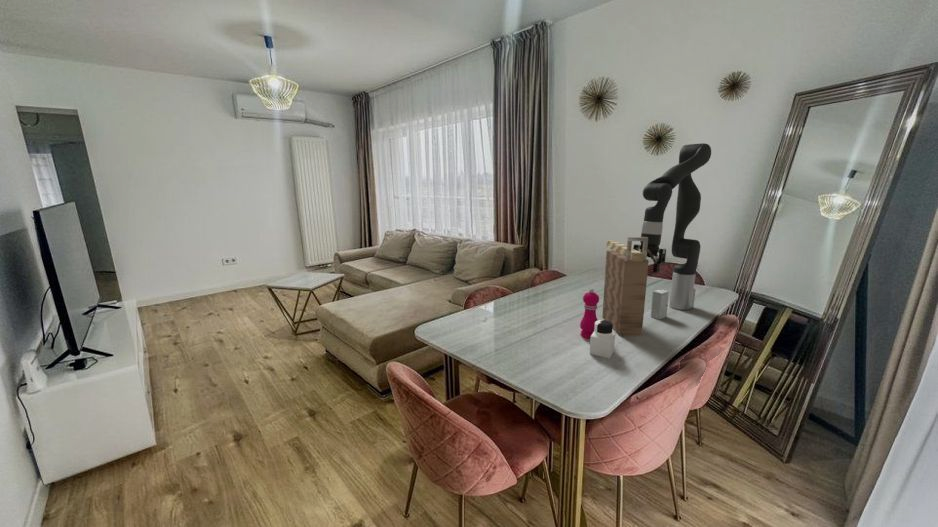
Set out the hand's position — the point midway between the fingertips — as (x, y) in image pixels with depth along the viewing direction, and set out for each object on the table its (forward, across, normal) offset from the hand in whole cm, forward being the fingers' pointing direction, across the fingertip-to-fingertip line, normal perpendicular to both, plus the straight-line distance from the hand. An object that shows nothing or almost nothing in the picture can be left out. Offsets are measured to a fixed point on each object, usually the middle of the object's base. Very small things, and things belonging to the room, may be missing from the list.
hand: (646, 270), depth 152 cm
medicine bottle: (+26, -13, +34) cm, 45 cm away
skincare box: (+22, +1, -14) cm, 26 cm away
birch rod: (-7, +5, +10) cm, 13 cm away
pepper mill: (+26, 0, +28) cm, 38 cm away
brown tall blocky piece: (+24, +2, +9) cm, 26 cm away
